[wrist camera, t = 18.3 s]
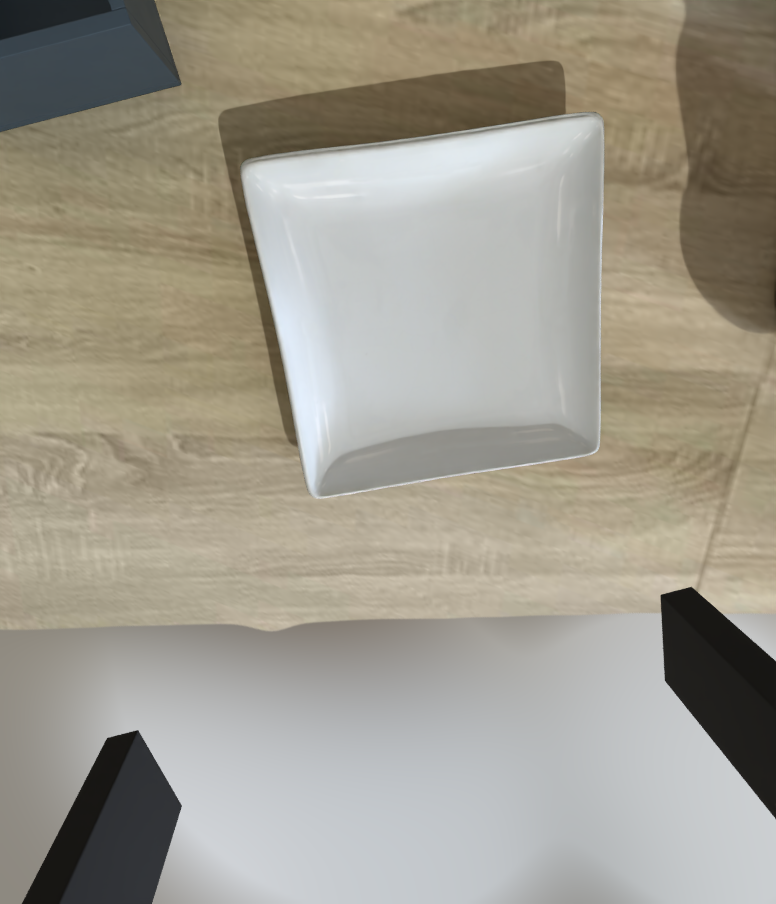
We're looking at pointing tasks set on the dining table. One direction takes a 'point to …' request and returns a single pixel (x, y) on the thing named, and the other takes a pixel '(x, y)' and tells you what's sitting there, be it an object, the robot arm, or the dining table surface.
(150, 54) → the navy storage bin
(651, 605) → the dining table surface
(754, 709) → the robot arm
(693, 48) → the dining table surface
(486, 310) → the square plate
